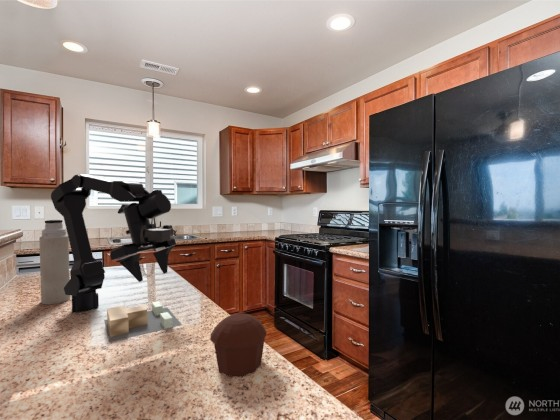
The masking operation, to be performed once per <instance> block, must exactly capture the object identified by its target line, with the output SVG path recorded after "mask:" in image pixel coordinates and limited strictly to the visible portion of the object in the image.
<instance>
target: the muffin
mask: <svg viewBox="0 0 560 420" xmlns="http://www.w3.org/2000/svg"><path fill="white" fill-rule="evenodd" d="M209 337H210V341H211V342H212V343H213V344H214V350H215V351H214V352H215V359H216V364H217V368H218V372H219V373H221V374H223V375H225V376H226V377H231V378H232V377H233V378H234V377H240V378H244V377H245V376H247V375H250V374H254V373H256V371H257V370H258V369H259V368H260V367H261V365H262V360H263V359H262V358H263V351H264V344H265V338H266V337H267V330H266V327H265V326H264V324H263V323H262V322H261V320H259V319H258V318H256V317H255V316H253V315H252V314H249V313H235V314H231V315H228V316H226V317H224V318H223V319H222V320H221V321H219V323H217V324H216V326H215V327H214V329H212V331H211V333H210V336H209Z"/></svg>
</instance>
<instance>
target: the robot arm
mask: <svg viewBox="0 0 560 420" xmlns="http://www.w3.org/2000/svg"><path fill="white" fill-rule="evenodd" d="M91 191H96V192H100V193H102V194H107V195H109V196H110V197H111V198H112V199H114V200H115V201H118V202H121V203H123V204H121V206H120V208H118V210H117V214H124V217H125V221H126V225H127V227H128V228H127V230H125V234H126V235H129V236H130V238H131V243H125V244H123V245H120V246H117V247H115V248H113V249H111V250H110V253H109V258H110V261H115V262H116V264H118V263H119V264H120V265H121V266H122V267H124V268H125V269H126V270H127V271H128V272H129V273H130V274H131V275H132V276H133V278H135V279H136V280H137V282H139V283H140V282H143V281H144V279H143V274H142V273H143V272H142V268H141V265H140V258H141V252H146V251H147V252H148V251H151V250H153V251H154V252H153V253H152V254H153V257H154V258H155V260H156V262H157V264H158V267H159V268H160V270H161V272H162V274H163V275H165V274H167V273H168V265H169V256H170V253H171V251H172V250H173V249H174V248H175V246H176V245H177V242H176V239H175V238H174V237H173V236H174V235H175V231H174V227H173V225H172V224H165V225H163V226H162V228H157V227H156V225H155V224H154V223H151V222H150V220H151V219H152V220H153V219H155V218H157V217H160V216H162V215H165V214H167V213H169V212H170V210H171V209H172V203H171V201H170V200H169V198H168V197H167V195H165V194H164V193H163V191H162V189H155V190H154V189H153V190H152V191H151V192H149V191H148V190H146V189H145V187H144V185H143V183H141V182H137V181H136V182H135V181H124V180H123V181H120V180H119V181H117V180H116V181H115V180H110V179H105V178H101V177H97V176H93V175H91V174H81V173H77V174H74V175H73V176H72V177H71V178H70V179H69V180H66V181H64V182H62V183H60V184H58V186H56V187H55V188H54V190H52V192H51V194H50V200H51V202H52V204H53V207H54V209H55V211H57V212H58V213H59V214H60V215H61V217H63V220H64V223H65V229H66V235H68V238H69V247H70V250H71V254H72V258H73V264H72V266H71V269H70V270H69V275H70V280H69V282H68V283H67V284H66V286H65V287H64V291H65V295H70V297H71V314H74V313H83V312H84V313H85V312H89V311H92V310H96V309H98V308H99V306H100V305H99V293H97V290H101V289H102V287H103V284H104V280H105V273H106V270H105V269H104V263H103V261H102V260H97V259H96V258H94V255H93V251H92V248H91V244H90V239H89V236H88V231H87V226H86V223H85V219H84V214H83V213H84V211H85V208H86V205H87V200H86V199H88V198H89V197H90V195H91ZM124 202H125V204H124ZM128 202H129V203H128ZM126 203H128V204H126ZM137 253H138V254H137Z"/></svg>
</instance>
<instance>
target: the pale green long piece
mask: <svg viewBox="0 0 560 420" xmlns="http://www.w3.org/2000/svg"><path fill="white" fill-rule="evenodd" d="M163 308H164V305H162V303H161V302H160V301H158V300H157V301H152V302H151V311H153V313H154V314H155V316H156V315H160V323H161V324H162V326H163V327H164V329H163V330H166V329H167V328H168V329H170V328H171V327H172V328H174V327H173V325H172V317H171V315H170V314H169V313H168V312H165V313H163ZM168 329H167V330H168Z"/></svg>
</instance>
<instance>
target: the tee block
mask: <svg viewBox="0 0 560 420" xmlns="http://www.w3.org/2000/svg"><path fill="white" fill-rule="evenodd" d="M147 311H148V308H147V307H146V305H145V304H144V305H139V306H133V307H128V308H125V306H124V305H120V306H115V307H109V308H107V309H106V317H107V319H106V320H107V324H108V328H109V332H110V337H112V336H117V335H121V334H125V333H129V328H132V327H136V326H141V325H145V324H148V312H147Z"/></svg>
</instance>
